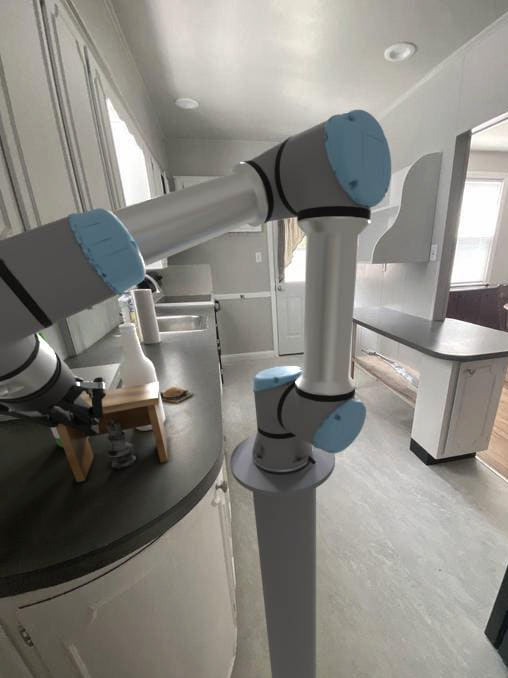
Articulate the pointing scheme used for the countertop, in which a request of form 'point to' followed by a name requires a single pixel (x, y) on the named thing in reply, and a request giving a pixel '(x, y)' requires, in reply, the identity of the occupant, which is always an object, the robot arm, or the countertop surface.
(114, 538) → the countertop surface
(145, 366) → the alcohol
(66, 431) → the desk
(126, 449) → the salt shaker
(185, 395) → the brown sandwich
